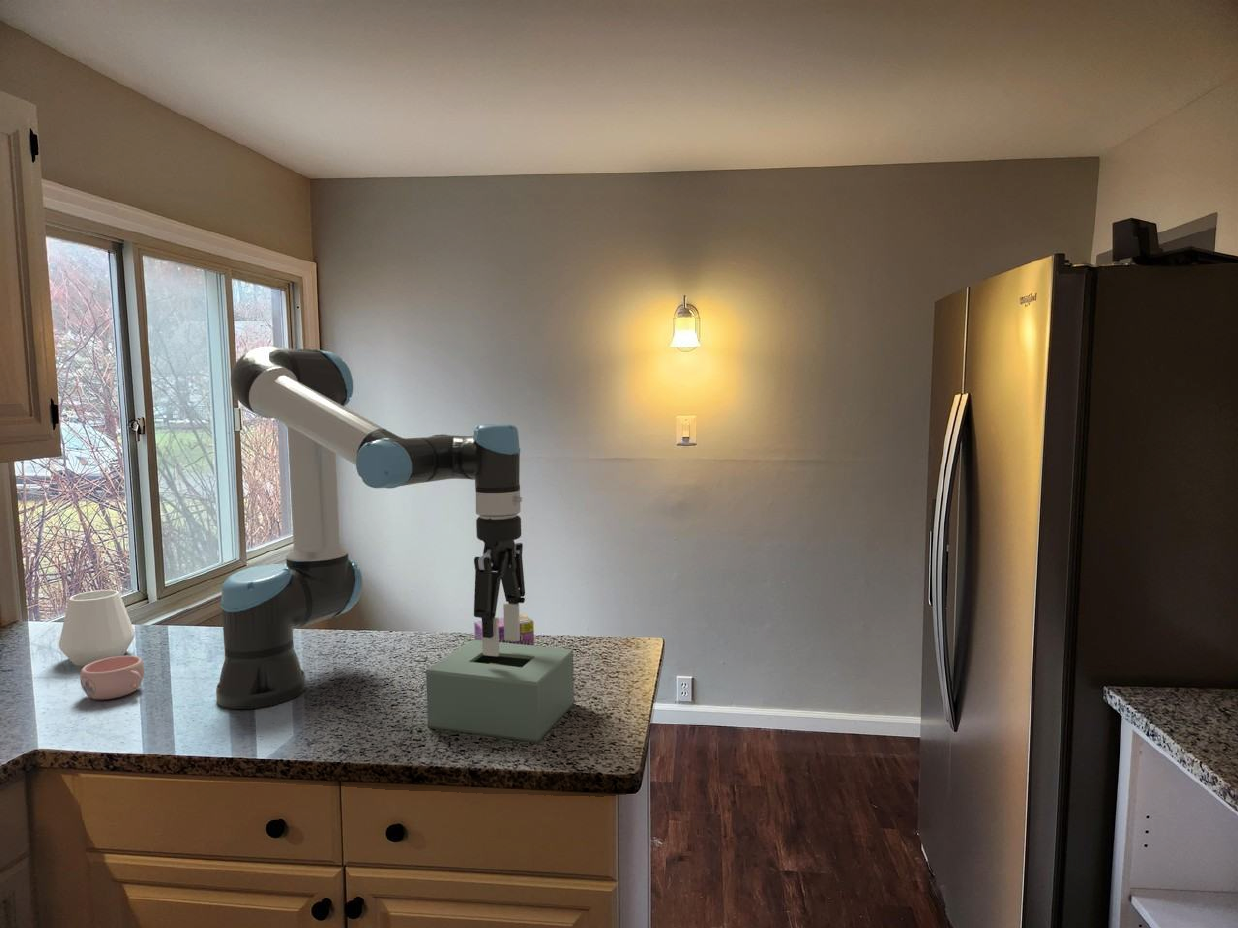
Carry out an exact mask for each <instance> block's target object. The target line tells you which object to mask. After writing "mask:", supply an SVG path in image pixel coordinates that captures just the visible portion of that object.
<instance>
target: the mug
mask: <svg viewBox="0 0 1238 928" xmlns="http://www.w3.org/2000/svg"><path fill="white" fill-rule="evenodd" d="M79 675H80V685H81V688H82V690H83V692H84V693H85V694H86V695H87V697H89V698H90V699H93V700H111V699H117V698H121V697H125V696H127V695H129V694H132V693H133V692H135V691H137V690H138V689H139V688H140V687H141V686H142V682H143V679H144V678H145V665H144V661H143V659H142V658H141V657H140V656H136V655H124V656H116V657H110V658H105V659H101V660H98V661H95V662H92V663H90V664H88V665H86V666H83V667H82V669H81V670H80V674H79Z"/></svg>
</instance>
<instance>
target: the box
mask: <svg viewBox="0 0 1238 928" xmlns="http://www.w3.org/2000/svg"><path fill="white" fill-rule="evenodd" d="M498 620H499V642H503V643H513V644H523V645H533V646H535V636H534V635H535V633H534V631H535V630H534V620H532V618H530V617H529V616H528V615H526V614H519V620H520V640H519V641H509V640H504V616H503V617H498ZM473 626H474V628H473V629H474V640H482V620H479V621H474V624H473Z"/></svg>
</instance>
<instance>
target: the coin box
mask: <svg viewBox="0 0 1238 928" xmlns="http://www.w3.org/2000/svg"><path fill="white" fill-rule="evenodd" d="M490 663H496V664H502V665H494V664H490ZM503 665H509V666H503ZM513 666H515V667H513ZM574 675H575V674H574V649H571V648H561V647H551V646H542V645H541V646H540V645H534V646H533V645H523V644H513V643H503V642H499V656H487V655H483V647H482V640H475V639H472V640H470V641H469V642H467V643H465V644H464V645H462V646H460V647H459V648H457V649H455V650H454V651H453V652H451V653H450V654H448V655H447V656H445V657H443V658H442V659H440V660H439V661H437V662H436V663H434V664H432V665H431V666H429V667H427V668H426V669H425V676H426V677H425V679H426V708H427V712H426V713H427V714H426V715H427V728H429V729H435V730H442V731H449V732H456V733H457V732H458V733H464V734H471V735H479V736H485V737H486V736H487V737H493V738H499V739H501V738H502V739H505V740H507V739H508V740H514V741H521V742H528V743H529V742H530V743H536V744H539V743H540V742H541V741H542V739H543V738H544V737H545V736H546V735H547V734H548V732H550V731H551V729H552V728H553V727H554V726H555V725H556V724H558V722H559V721H560V719H562V717H563V716H564V715H565V714H566V713H567V712H568V711H569V710H570V709H571V708H572V707H573V706H574V704H575V693H574V692H575V689H574V688H575V686H574V685H575V684H574V683H575V682H574V681H575V680H574V678H575V677H574Z"/></svg>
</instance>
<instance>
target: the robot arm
mask: <svg viewBox="0 0 1238 928" xmlns="http://www.w3.org/2000/svg"><path fill="white" fill-rule="evenodd" d="M230 386H231V389H232V393H233V395H234V397H236V400H237V401H238V402H239V403H240V404H241V405H242V406H244V408H246V409H248V410H249V412H252V413H254V414H256V415H257V416H259V417H261V418H265V419H276V420H277V421H279V422H281V423H283V424H284V425H285V426H286V427H287V441H288V442H287V444H288V445H287V446H288V459H289V462H288V463H289V477H290V479H289V480H290V482H289V483H290V498H291V499H290V500H291V516H292V517H291V519H292V537H293V539H292V540H293V548H292V549H291V550H290V551H289V552H288V553H287V554H286V556H285V562H286V563H285V564H284V563H282V564H281V563H270V564H269V563H268V564H263V565H259V566H258V565H257V566H251V567H249V568H245V569H241V570H239V571H237V572H235V573H232V574H231V575H229V576H228V577H227V578H226V579H225V580H224V582H222V585H221V596H220V599H221V600H220V607H221V613H222V614H221V616H222V630H223V645H224V660H223V665H222V668H221V672H220V676H219V682H218V683H217V685H216V688H215V692H216V693H215V695H216V697H215V698H216V703H217V705H219V706H220V707H222V708H224V709H225V708H226V709H230V710H231V709H232V710H252V709H253V710H254V709H260V708H266V707H271V706H274V705H275V706H276V705H279V704H282V703H286V702H287V701H290V700H293V699H294V698H296V697H298V696H300V695H301V694H302V693H303V692H305V690H306V687H307V685H306V684H307V683H306V675H305V674H306V673H305V672H304V670H303V669H302V668H301V664H300V661H299V658H298V656H297V653H296V651H295V644H294V630H296V629H299V628H303V627H306V626H308V625H309V626H310V625H312V624H316V623H318V622H321V621H324V620H330V619H334V618H336V617H338V616H340V615H342V614H344V613H347V612H348V611H350V610H352V608H353V607H354V606H355V605H356V604H357V603H358V601H359V599H360V598H361V594H362V590H363V577H362V571H361V570H360V568H358V564H357V563H356V561H355V560H354V559H353V558H351V557H349V550H348V549H347V548H345V547H344V546H343V544H341V541H340V538H341V537H340V522H339V521H340V519H339V500H338V497H339V496H338V483H337V482H338V478H337V477H338V476H337V460H336V459H337V457H336V455H338V456H339V457H341V458H343V459H344V460H346V461H348V462H349V463H351V464H353V465H355V469H356V472H357V475H358V476H359V477H360V478H361V480H362V483H364V485H366V486H367V487H369V488H373V489H388V490H389V489H396V488H398V487H403V486H410V485H415V484H416V485H417V484H422V483H431V482H438V481H444V480H452V479H456V480H457V479H458V480H474V489H475V514H476V515H477V516H478V517H476V519H475V520H476V521H475V524H476V525H475V527H476V538H477V539H478V540H479V541H482V542H483V543H484V545H483V550H482V556H475V557H474V558H473V563H474V570H475V573H474V593H473V594H474V596H473V598H474V600H473V617H475V618H477V619H479V618H481V621H482V647H483V655H487V656H499V620H498V618H499V616H496V615H497V607H498V600H499V596H500V595H499V593H500V587H501V585H502V590H503V592H504V593H503V594H504V598H505V601H506V602H505V603H503V604H502V605H503V607H502V608H503V617H504V640H509V641H519V640H520V620H519V615H520V604H524V603H525V601H526V598H525V596H526V587H525V574H524V564H523V547H524V545H523V542H515V541H516V540H518V539H520V538H521V537H522V518H521V516H520V515H518V514H520V513H521V502H523V498H522V496H521V485H520V472H521V471H520V468H521V467H520V462H521V458H520V457H521V447H520V439H519V436H520V435H519V430H518V428H517V427H516V426H515V425H514V424H507V423H505V424H504V423H502V424H489V423H488V424H478V425H476V426H475V427H474V428H473V435H454V434H453V435H449V434H434V435H427V436H424V437H423V436H422V437H411V438H410V437H409V438H406V437H405V438H403V437H401V436H399V435H397V434H395V433H393V432H391V431H389V430H387V429H386V428H384V427H382V426H380V425H379V424H377V423H374V422H373V421H371V420H370V419H368V418H366V417H364V416H362V415H360V414H358V413H356V412H354V411H353V410H351V409H349V408H347V407H346V406H347V405H348V403H350V401H351V399H350V398H352V397H353V394H354V379H353V375H352V372H351V370H350V367H349V366H348V364H347V363H346V362H345V361H343V359H342V357H340V356H339V355H338V354H336V353H334V352H332V351H327V350H321V349H314V348H311V349H310V348H308V349H307V348H289V347H288V348H287V347H275V346H262V347H258V348H257V347H256V348H254V349H252V350H249V351H246V352H245V353H244V354H242V355H241V356H240V357H239V358H238V359H237V361H236V362H235V364H234V365H233V367H232V370H231V373H230Z"/></svg>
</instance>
